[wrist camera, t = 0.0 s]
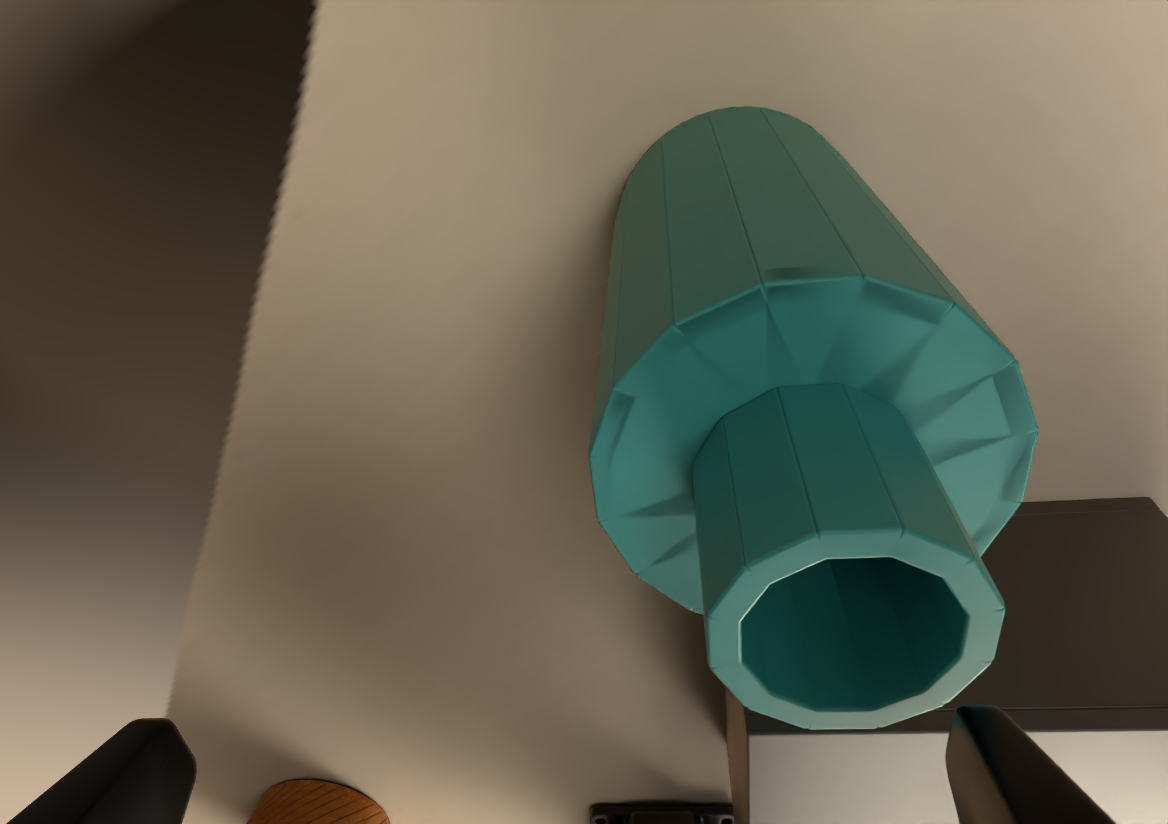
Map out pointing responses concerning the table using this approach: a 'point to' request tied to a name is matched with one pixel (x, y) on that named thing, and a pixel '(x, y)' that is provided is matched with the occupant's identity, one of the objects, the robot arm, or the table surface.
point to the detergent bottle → (802, 426)
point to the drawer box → (1007, 686)
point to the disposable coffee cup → (315, 805)
